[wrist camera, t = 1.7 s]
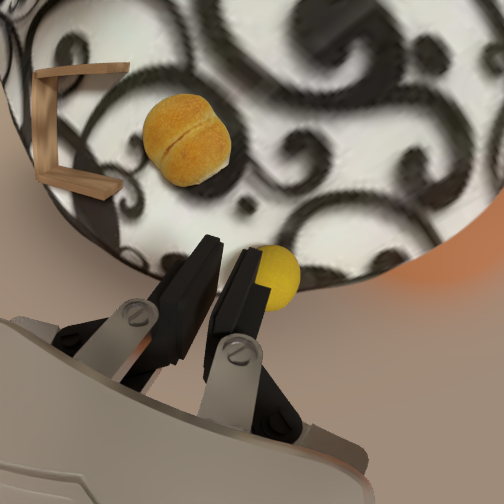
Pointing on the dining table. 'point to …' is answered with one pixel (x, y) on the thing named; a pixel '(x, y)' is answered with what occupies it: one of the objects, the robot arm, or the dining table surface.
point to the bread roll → (186, 139)
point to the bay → (47, 133)
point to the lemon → (278, 275)
